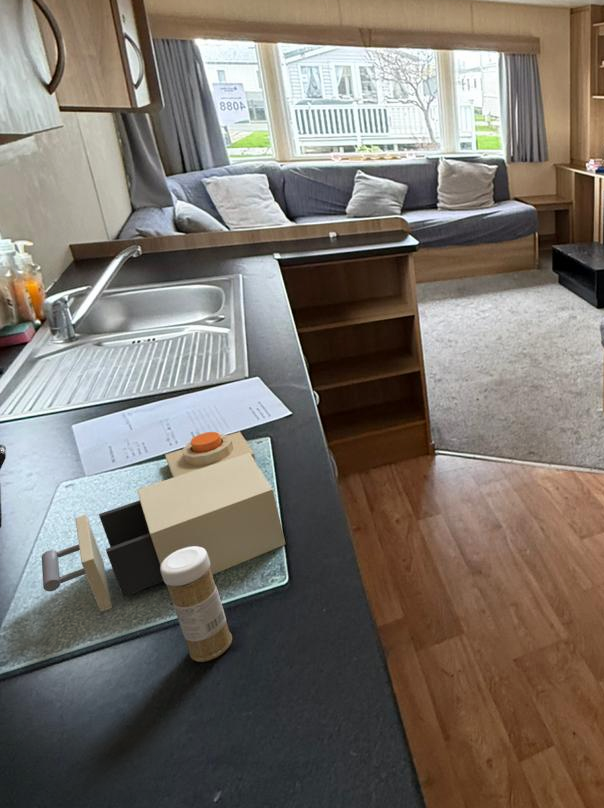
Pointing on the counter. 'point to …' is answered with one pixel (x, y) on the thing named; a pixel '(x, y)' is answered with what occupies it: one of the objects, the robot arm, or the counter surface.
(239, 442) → the panel
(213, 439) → the button
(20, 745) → the counter surface
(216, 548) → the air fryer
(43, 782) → the counter surface
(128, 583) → the pull-out drawer
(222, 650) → the sprinkles bottle
